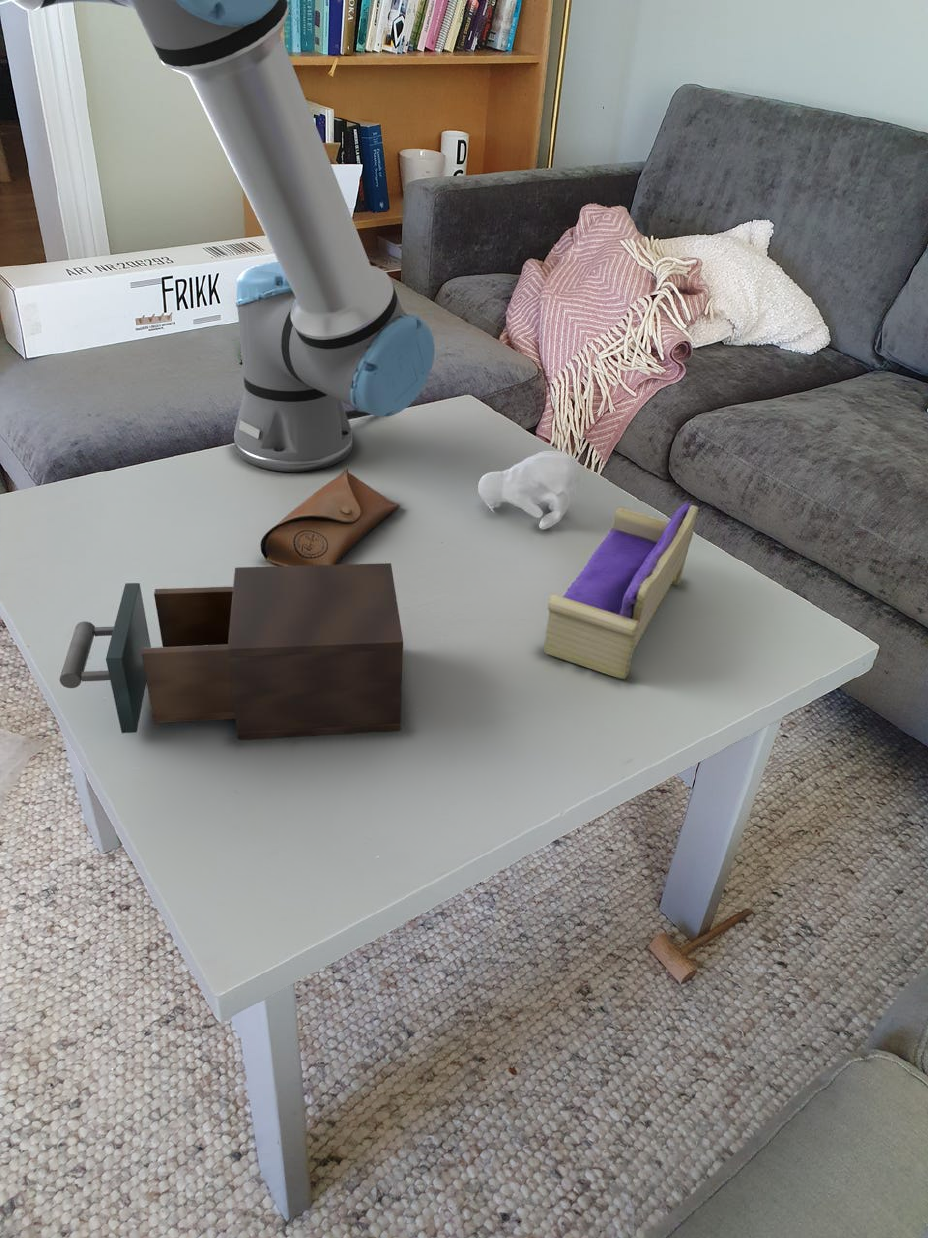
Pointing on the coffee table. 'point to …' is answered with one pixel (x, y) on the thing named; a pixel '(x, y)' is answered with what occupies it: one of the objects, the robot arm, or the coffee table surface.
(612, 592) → the toy sofa
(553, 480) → the white figurine
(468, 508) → the coffee table surface
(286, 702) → the cabinet
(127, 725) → the drawer
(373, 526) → the sunglasses case
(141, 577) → the coffee table surface
